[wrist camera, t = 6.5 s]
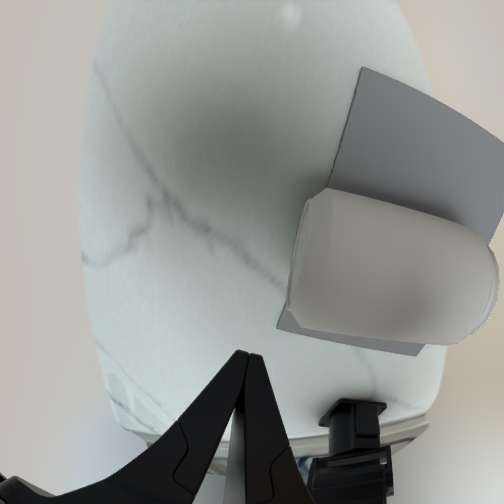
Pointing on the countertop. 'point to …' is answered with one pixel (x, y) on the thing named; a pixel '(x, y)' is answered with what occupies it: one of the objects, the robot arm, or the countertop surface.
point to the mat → (414, 170)
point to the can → (388, 272)
